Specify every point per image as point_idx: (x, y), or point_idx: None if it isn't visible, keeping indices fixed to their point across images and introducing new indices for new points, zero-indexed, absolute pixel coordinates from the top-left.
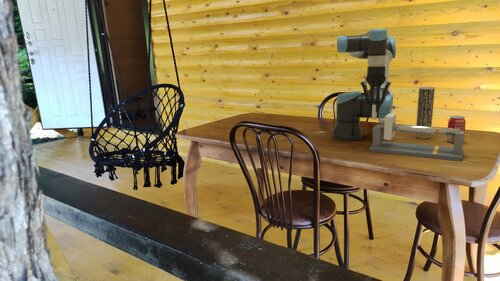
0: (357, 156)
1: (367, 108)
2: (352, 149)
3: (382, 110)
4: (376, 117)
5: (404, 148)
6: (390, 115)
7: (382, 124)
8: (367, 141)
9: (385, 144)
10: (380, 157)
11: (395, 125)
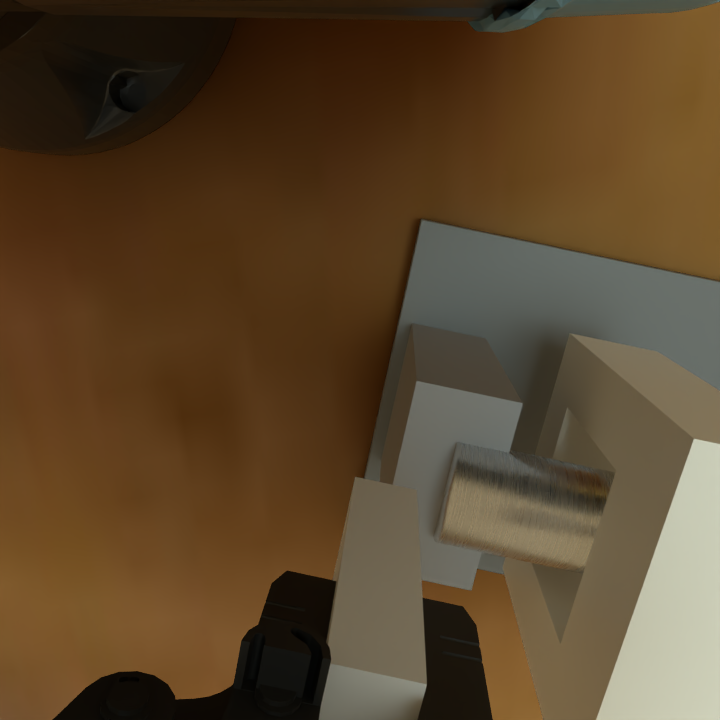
0: None
1: (159, 9)
2: (195, 488)
3: (572, 14)
4: (415, 502)
5: None
6: (690, 679)
7: (511, 553)
8: (317, 123)
9: (519, 380)
10: None
11: None
